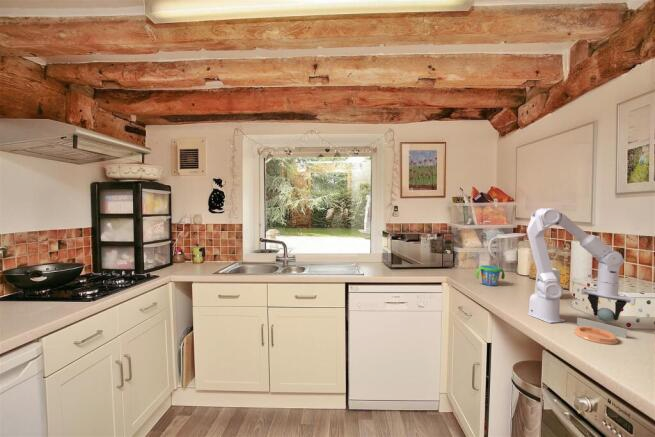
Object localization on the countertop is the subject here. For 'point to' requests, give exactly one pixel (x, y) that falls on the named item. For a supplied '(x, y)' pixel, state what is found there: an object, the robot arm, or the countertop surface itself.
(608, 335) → the bowl
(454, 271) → the countertop surface
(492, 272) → the snack cup
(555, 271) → the skincare box
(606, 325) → the acrylic wall
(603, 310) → the ball
